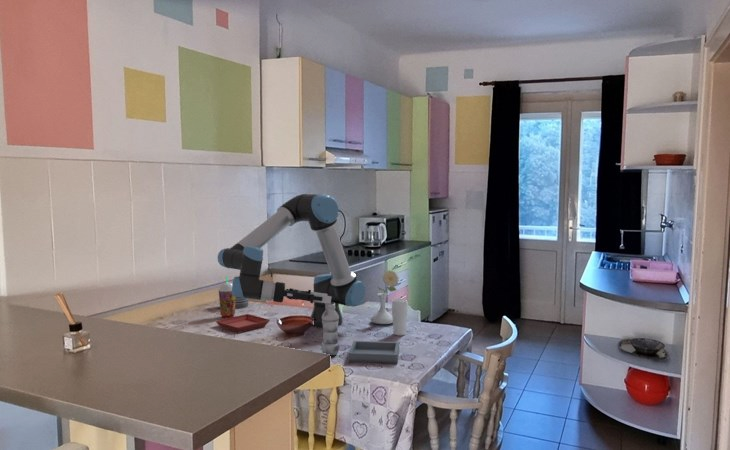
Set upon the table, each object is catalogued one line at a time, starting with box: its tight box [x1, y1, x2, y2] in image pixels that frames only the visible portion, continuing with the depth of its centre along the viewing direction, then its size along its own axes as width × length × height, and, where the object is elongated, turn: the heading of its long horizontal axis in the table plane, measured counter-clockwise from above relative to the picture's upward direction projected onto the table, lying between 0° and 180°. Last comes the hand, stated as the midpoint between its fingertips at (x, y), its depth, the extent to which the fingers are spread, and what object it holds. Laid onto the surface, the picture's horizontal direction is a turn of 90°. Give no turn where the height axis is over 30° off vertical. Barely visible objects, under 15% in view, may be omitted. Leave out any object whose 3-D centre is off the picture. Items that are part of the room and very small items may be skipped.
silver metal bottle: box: [321, 303, 340, 357], centre depth 213 cm, size 6×7×20 cm
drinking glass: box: [391, 298, 409, 337], centre depth 242 cm, size 7×7×15 cm
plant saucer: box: [215, 313, 271, 333], centre depth 256 cm, size 18×18×3 cm
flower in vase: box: [370, 269, 400, 325], centre depth 261 cm, size 13×11×25 cm
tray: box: [347, 340, 400, 365], centre depth 212 cm, size 16×18×4 cm
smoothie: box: [218, 276, 236, 319], centre depth 272 cm, size 8×8×20 cm
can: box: [235, 297, 249, 310], centre depth 296 cm, size 11×11×12 cm
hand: (328, 298), depth 215 cm, fingers open, 13 cm apart
